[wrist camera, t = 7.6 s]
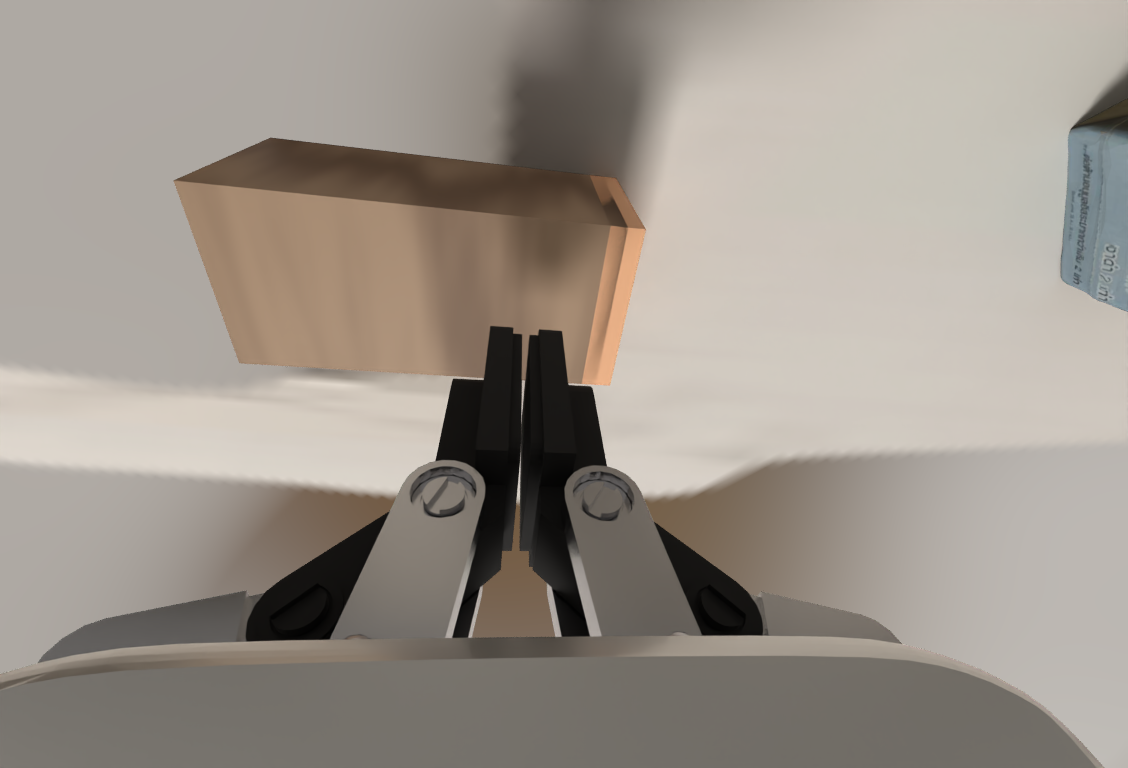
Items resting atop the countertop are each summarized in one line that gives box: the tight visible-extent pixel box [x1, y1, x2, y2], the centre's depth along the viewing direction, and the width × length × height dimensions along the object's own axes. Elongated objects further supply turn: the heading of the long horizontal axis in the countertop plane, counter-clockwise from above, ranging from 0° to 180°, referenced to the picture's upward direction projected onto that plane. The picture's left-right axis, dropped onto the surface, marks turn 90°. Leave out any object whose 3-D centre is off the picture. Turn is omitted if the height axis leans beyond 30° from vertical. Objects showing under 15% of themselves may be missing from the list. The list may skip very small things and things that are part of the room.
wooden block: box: [174, 138, 646, 385], centre depth 16 cm, size 6×6×12 cm
